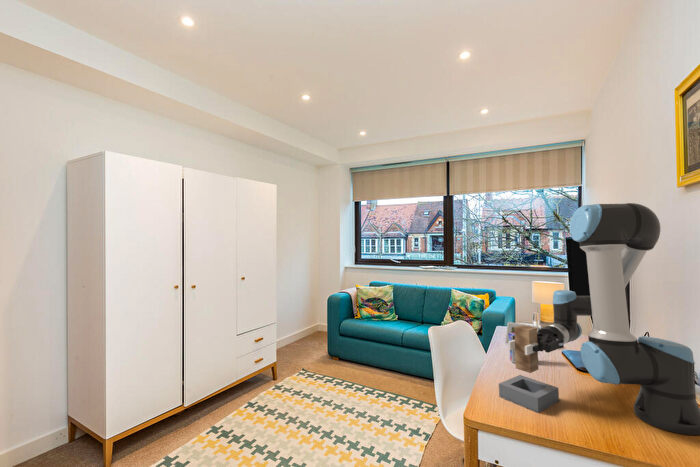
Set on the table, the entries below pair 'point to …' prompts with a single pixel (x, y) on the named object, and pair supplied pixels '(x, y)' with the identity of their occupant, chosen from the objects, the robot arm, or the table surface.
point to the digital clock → (511, 329)
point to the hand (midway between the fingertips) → (517, 348)
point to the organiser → (529, 393)
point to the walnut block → (522, 339)
